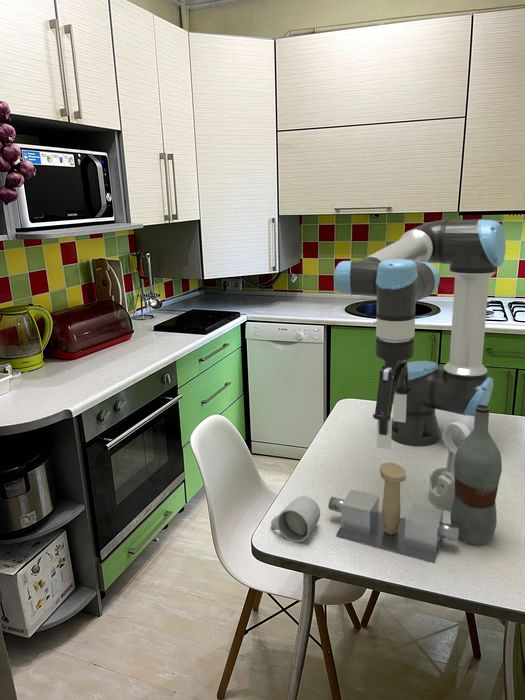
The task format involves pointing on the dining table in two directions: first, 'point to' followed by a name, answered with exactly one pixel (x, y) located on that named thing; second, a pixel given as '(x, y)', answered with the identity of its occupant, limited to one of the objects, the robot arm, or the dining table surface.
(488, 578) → the dining table surface
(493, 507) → the bottle
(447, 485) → the engine component
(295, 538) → the ceramic mug
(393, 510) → the handle
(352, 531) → the shaft bed
